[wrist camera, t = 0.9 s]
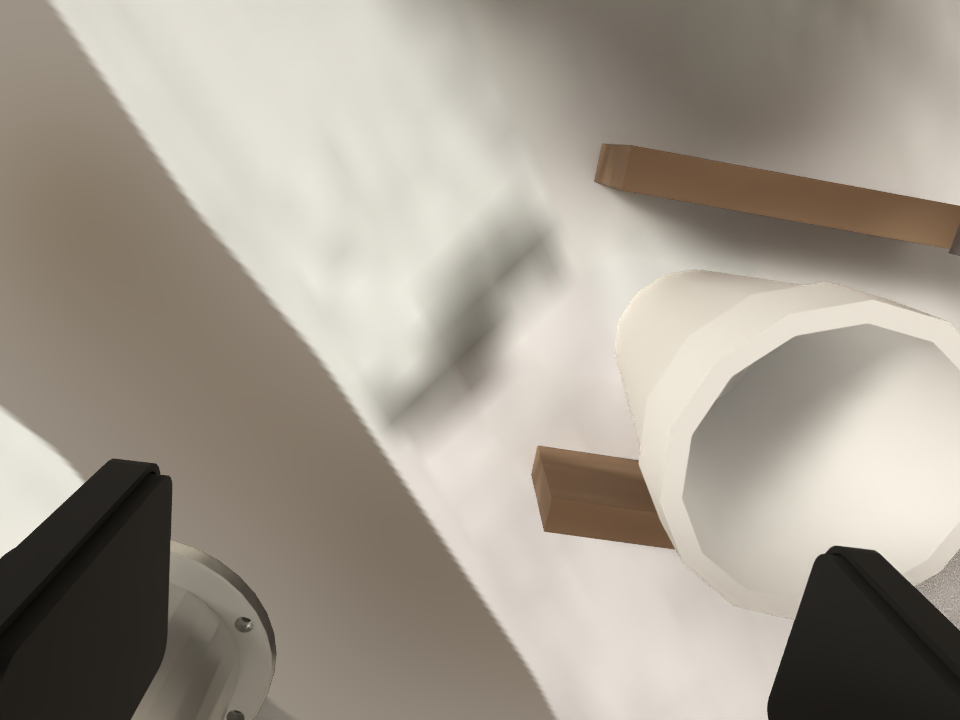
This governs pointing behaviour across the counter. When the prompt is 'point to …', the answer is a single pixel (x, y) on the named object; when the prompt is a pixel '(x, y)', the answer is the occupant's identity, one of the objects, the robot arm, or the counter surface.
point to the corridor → (618, 481)
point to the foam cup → (792, 429)
